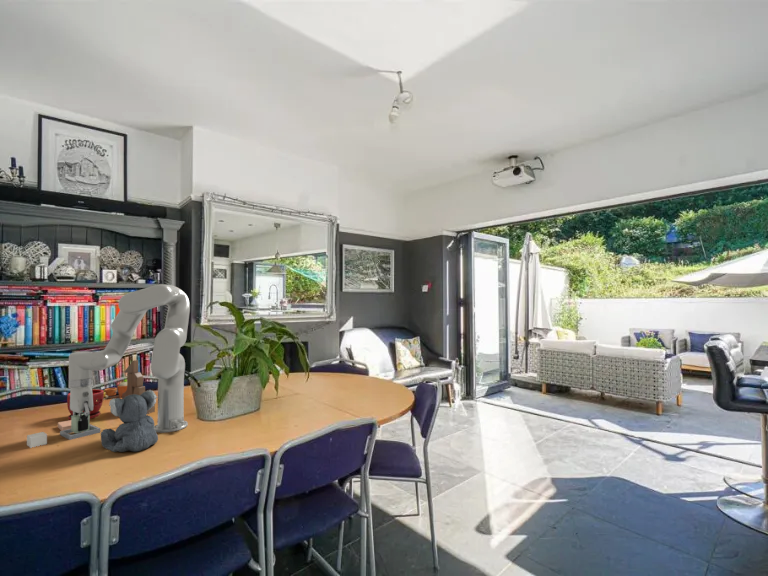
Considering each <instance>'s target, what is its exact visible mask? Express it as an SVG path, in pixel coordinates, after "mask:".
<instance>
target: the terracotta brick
mask: <svg viewBox="0 0 768 576" xmlns="http://www.w3.org/2000/svg"><path fill="white" fill-rule="evenodd" d="M57 429H59V430H60V431H63V430H68V429H71V420H69V419H68V420H64V421H59V422H57Z"/></svg>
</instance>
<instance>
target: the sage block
mask: <svg viewBox="0 0 768 576" xmlns="http://www.w3.org/2000/svg"><path fill="white" fill-rule="evenodd" d="M81 415H83V414H81ZM88 417H89V419H88V429H87V430H83V431H78V421H79V415H74V416H71V431H72V433H74V434H78V433H82V432H84V431H88V430H89V426H90V424H91V423H90V420H91V419H90V415H89V416H88Z"/></svg>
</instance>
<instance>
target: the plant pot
mask: <svg viewBox="0 0 768 576" xmlns="http://www.w3.org/2000/svg"><path fill="white" fill-rule="evenodd" d="M93 389H94V388H93ZM92 393H93V410H92V411H89V412H90V414H89V415H90V420H91V419H95V418H97V417H99V416H100V415H101V411H100V410H101V408H102V405H103V403H104V402H103V401H104V400H103V397H104V390H103V389H94V390H92ZM97 399H98V400H97ZM96 400H97V401H96ZM66 405H67V410H68V413H69V415H68V416H67V419H68V421H69V420H71V416H73V411H72V410H71V409H70V392H69V393H67V399H66ZM82 412H84V411H82Z"/></svg>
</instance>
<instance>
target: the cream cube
mask: <svg viewBox="0 0 768 576" xmlns="http://www.w3.org/2000/svg"><path fill="white" fill-rule="evenodd" d="M47 444H48V434H47V433H46V432H44V431H40V432H36V433H32V434H27V435H26V446H27V447H29V448H30V449H31V448H32V447H33V448H35V447H36V446H37V447H40V445H41V446H45V445H47Z"/></svg>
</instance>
